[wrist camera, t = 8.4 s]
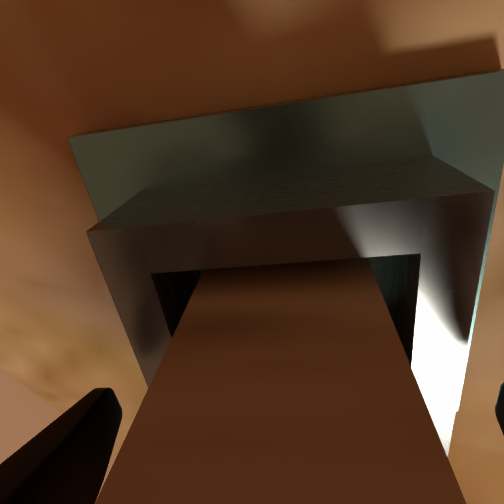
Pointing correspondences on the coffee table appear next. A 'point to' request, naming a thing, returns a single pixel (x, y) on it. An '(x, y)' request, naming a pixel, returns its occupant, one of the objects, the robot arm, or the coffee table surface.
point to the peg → (284, 399)
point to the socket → (310, 209)
